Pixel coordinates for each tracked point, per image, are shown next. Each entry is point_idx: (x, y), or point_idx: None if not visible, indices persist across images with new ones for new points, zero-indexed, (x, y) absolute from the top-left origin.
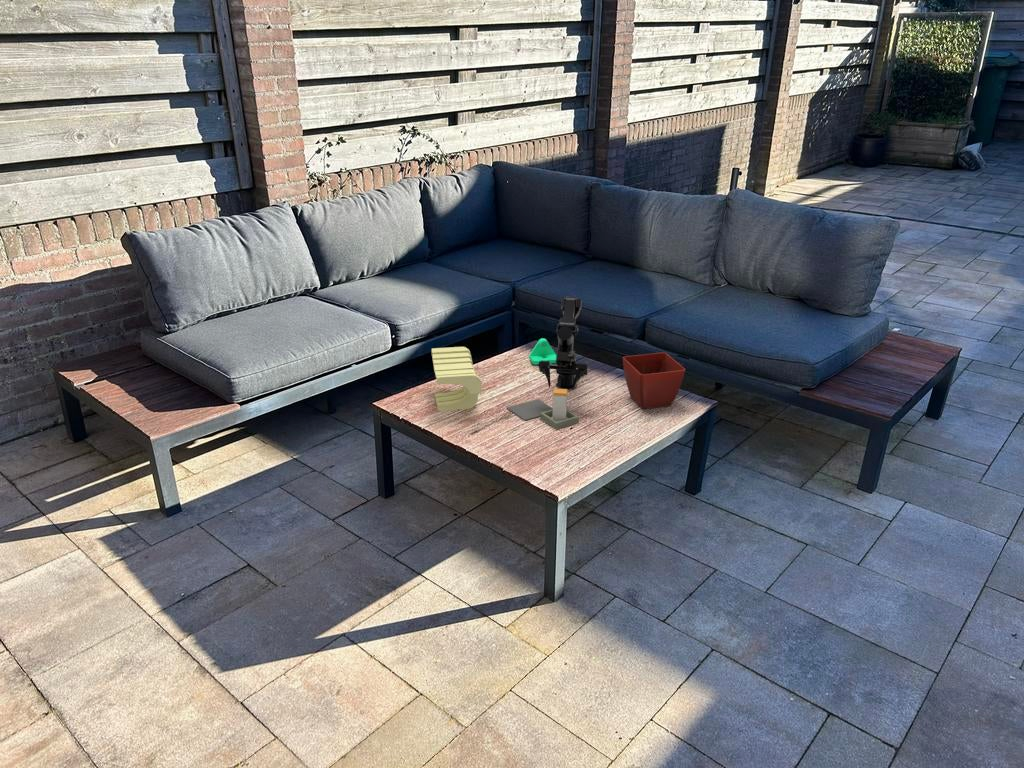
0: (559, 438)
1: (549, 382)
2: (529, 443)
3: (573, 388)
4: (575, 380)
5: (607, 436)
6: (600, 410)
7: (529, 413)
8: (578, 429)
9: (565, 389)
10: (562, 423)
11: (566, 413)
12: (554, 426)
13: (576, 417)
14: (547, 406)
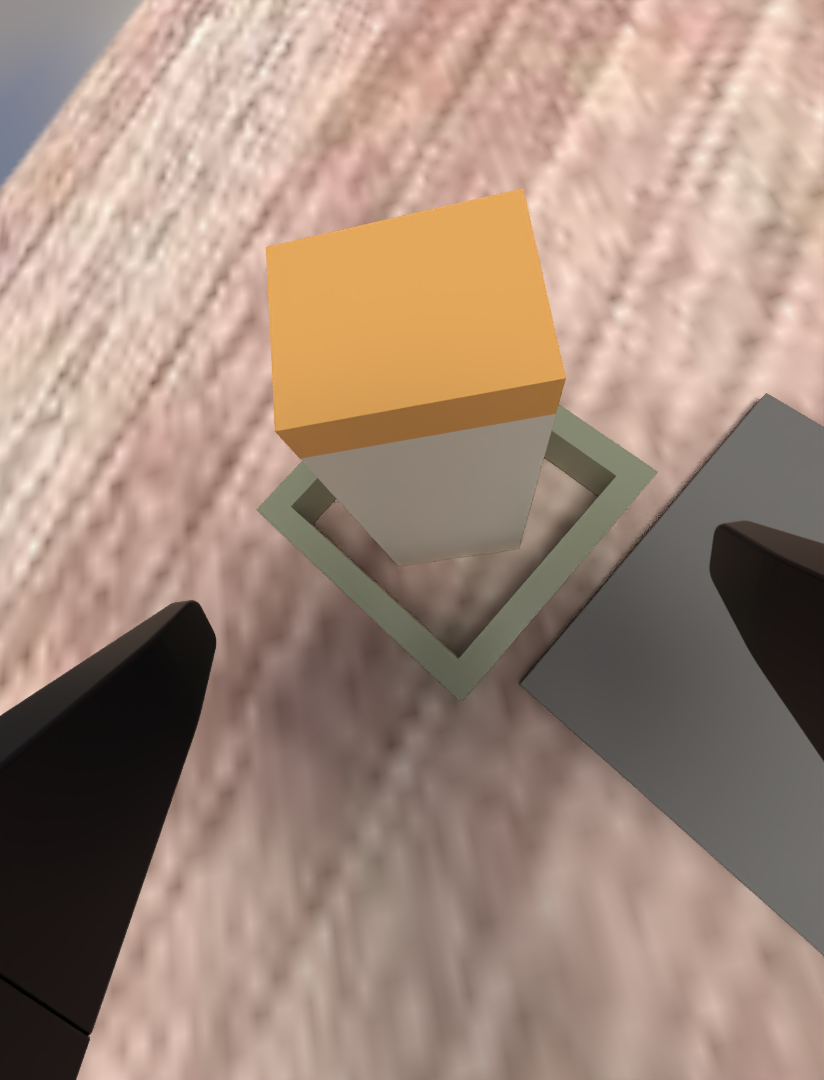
0: None
1: (810, 558)
2: (572, 110)
3: (187, 603)
4: (18, 722)
5: (66, 385)
6: None
7: None
8: (270, 415)
9: (315, 409)
10: None
11: (387, 552)
12: None
13: (277, 488)
14: (656, 773)
